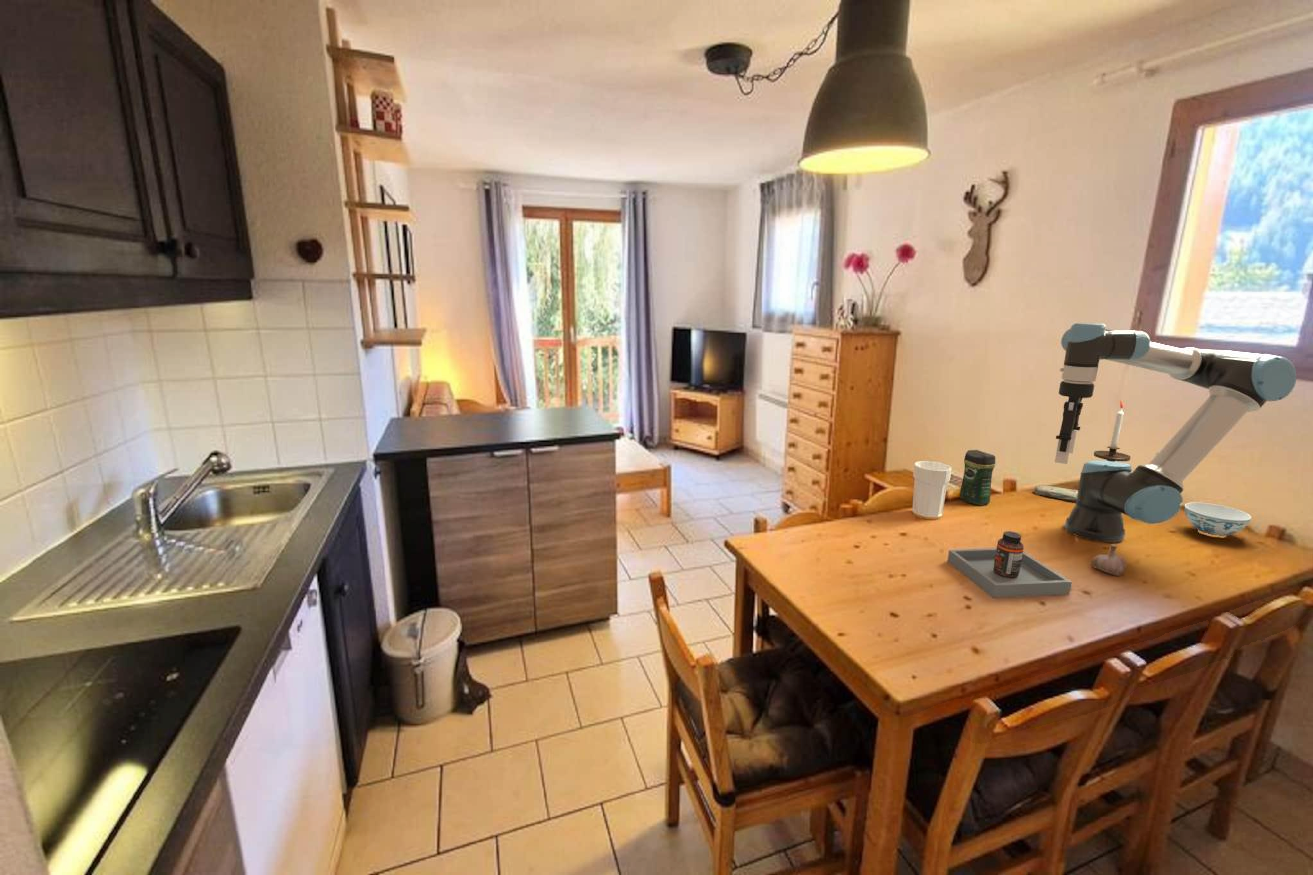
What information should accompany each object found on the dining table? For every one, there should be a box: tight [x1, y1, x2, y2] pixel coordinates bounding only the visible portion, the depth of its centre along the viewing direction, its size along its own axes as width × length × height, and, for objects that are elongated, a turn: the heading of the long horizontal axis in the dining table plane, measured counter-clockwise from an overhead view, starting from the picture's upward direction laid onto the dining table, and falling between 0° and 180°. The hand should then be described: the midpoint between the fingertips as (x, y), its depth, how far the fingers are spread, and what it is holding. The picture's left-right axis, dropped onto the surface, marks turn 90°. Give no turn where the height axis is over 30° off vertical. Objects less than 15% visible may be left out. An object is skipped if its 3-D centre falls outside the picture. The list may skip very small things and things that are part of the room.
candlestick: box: [1093, 400, 1132, 462], centre depth 215 cm, size 11×11×35 cm
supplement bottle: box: [993, 530, 1025, 578], centre depth 152 cm, size 6×6×11 cm
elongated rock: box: [1033, 484, 1078, 503], centre depth 208 cm, size 35×5×10 cm
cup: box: [911, 460, 952, 521], centre depth 194 cm, size 11×11×17 cm
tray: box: [947, 547, 1072, 599], centre depth 153 cm, size 20×20×4 cm
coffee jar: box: [959, 449, 996, 506], centre depth 207 cm, size 10×8×19 cm
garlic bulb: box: [1090, 543, 1127, 577], centre depth 156 cm, size 8×7×8 cm
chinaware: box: [1184, 502, 1252, 536], centre depth 180 cm, size 15×15×8 cm
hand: (1063, 457), depth 161 cm, fingers open, 13 cm apart
